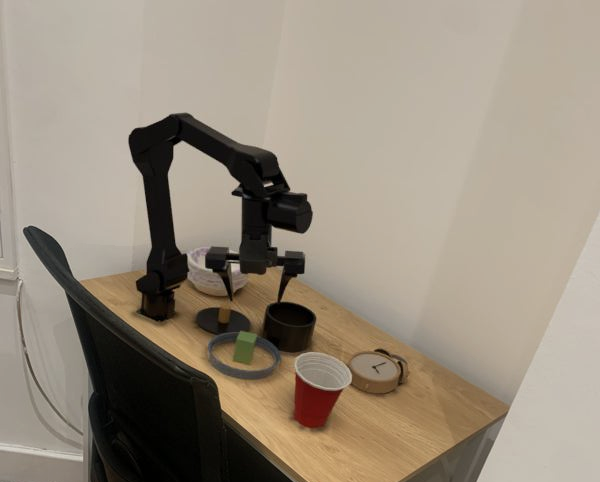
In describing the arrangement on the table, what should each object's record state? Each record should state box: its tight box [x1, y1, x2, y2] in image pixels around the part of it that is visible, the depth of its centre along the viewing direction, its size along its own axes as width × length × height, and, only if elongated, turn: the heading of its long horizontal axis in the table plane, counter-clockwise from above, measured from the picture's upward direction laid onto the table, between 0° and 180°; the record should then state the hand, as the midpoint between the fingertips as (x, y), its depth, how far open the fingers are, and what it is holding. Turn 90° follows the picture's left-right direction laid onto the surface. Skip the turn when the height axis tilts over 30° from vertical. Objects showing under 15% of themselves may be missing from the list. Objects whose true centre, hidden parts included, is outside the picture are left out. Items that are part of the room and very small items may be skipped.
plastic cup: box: [293, 351, 352, 429], centre depth 118 cm, size 11×11×12 cm
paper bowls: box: [186, 246, 249, 297], centre depth 157 cm, size 15×15×8 cm
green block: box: [232, 331, 258, 366], centre depth 132 cm, size 4×4×6 cm
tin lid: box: [195, 303, 252, 336], centre depth 143 cm, size 12×12×5 cm
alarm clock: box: [347, 347, 411, 394], centre depth 138 cm, size 11×5×15 cm
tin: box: [260, 301, 317, 354], centre depth 142 cm, size 11×11×7 cm
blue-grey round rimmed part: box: [206, 332, 282, 381], centre depth 133 cm, size 15×15×2 cm
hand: (255, 302), depth 126 cm, fingers open, 9 cm apart
